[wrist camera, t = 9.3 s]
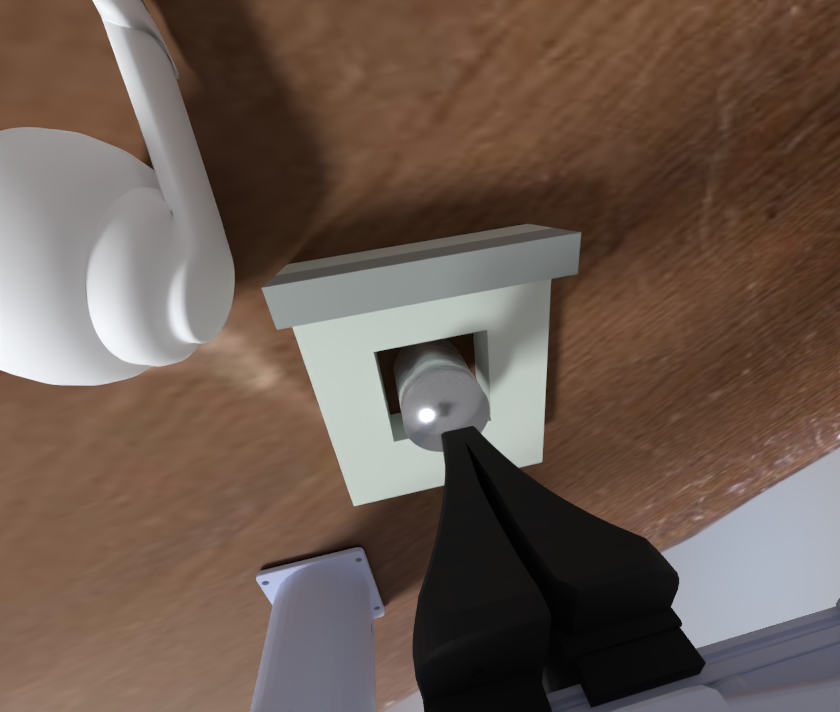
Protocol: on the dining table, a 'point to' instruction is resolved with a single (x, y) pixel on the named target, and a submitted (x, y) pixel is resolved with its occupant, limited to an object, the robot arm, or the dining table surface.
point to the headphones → (111, 234)
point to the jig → (421, 322)
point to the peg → (437, 392)
